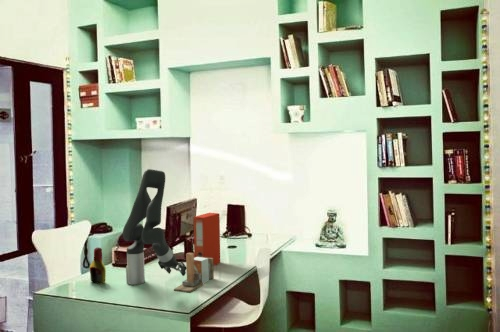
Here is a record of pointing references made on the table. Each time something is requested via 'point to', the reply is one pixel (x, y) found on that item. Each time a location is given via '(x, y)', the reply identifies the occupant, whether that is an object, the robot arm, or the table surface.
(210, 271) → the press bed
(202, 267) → the small box
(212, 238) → the file binder
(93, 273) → the bottle
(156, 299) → the table surface
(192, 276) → the wooden post on base
